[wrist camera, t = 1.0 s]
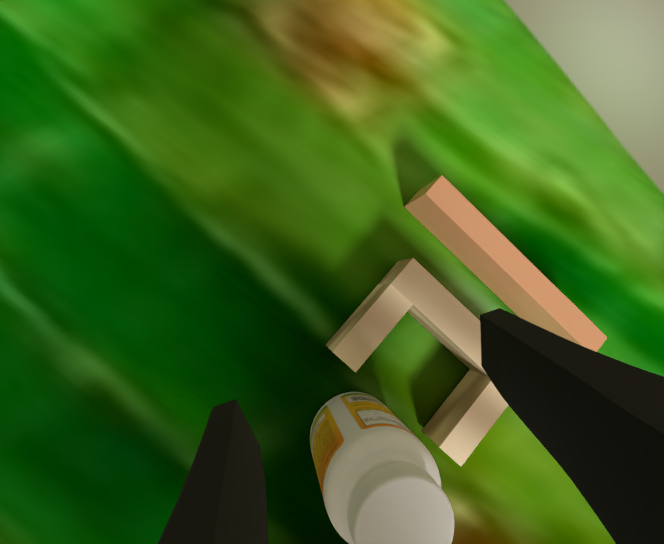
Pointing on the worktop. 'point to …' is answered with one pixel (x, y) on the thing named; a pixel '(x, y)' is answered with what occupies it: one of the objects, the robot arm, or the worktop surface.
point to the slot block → (450, 329)
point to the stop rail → (500, 263)
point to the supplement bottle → (377, 475)
